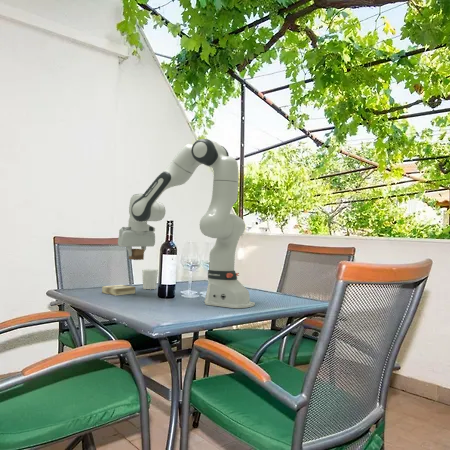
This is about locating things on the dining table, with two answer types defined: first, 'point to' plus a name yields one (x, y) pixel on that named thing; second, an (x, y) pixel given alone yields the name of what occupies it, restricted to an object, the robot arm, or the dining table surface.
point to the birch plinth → (118, 289)
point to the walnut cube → (137, 254)
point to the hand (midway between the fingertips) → (136, 256)
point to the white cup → (149, 278)
